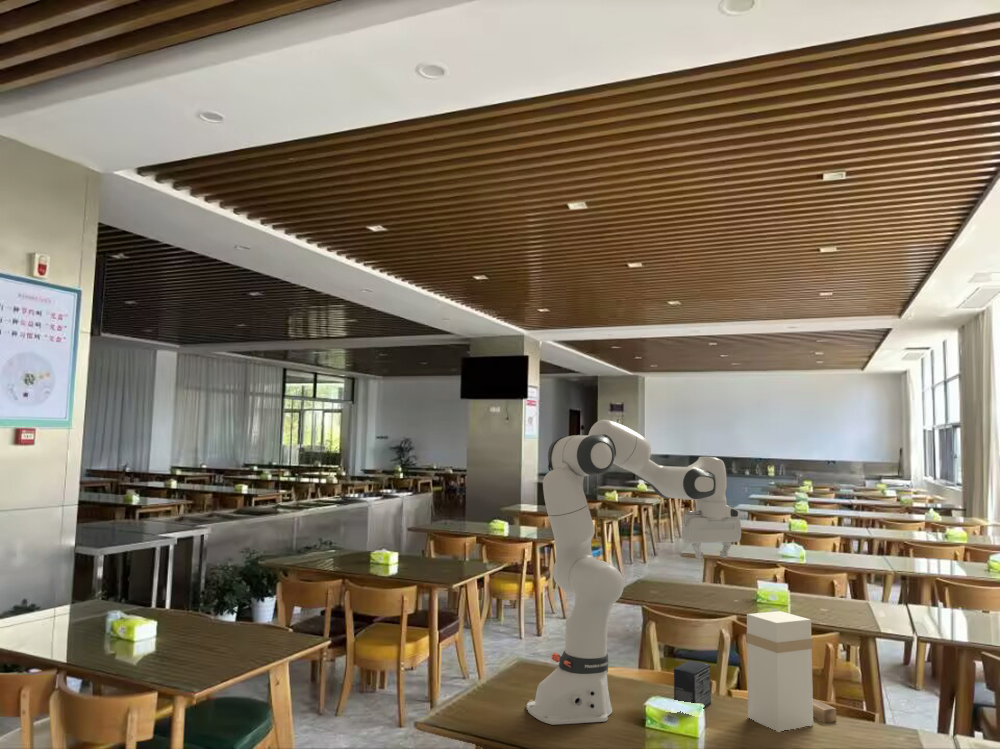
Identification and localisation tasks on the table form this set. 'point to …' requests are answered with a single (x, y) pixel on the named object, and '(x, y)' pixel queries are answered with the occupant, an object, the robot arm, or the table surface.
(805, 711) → the carton
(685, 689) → the small box
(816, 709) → the flap bar
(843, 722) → the table surface
